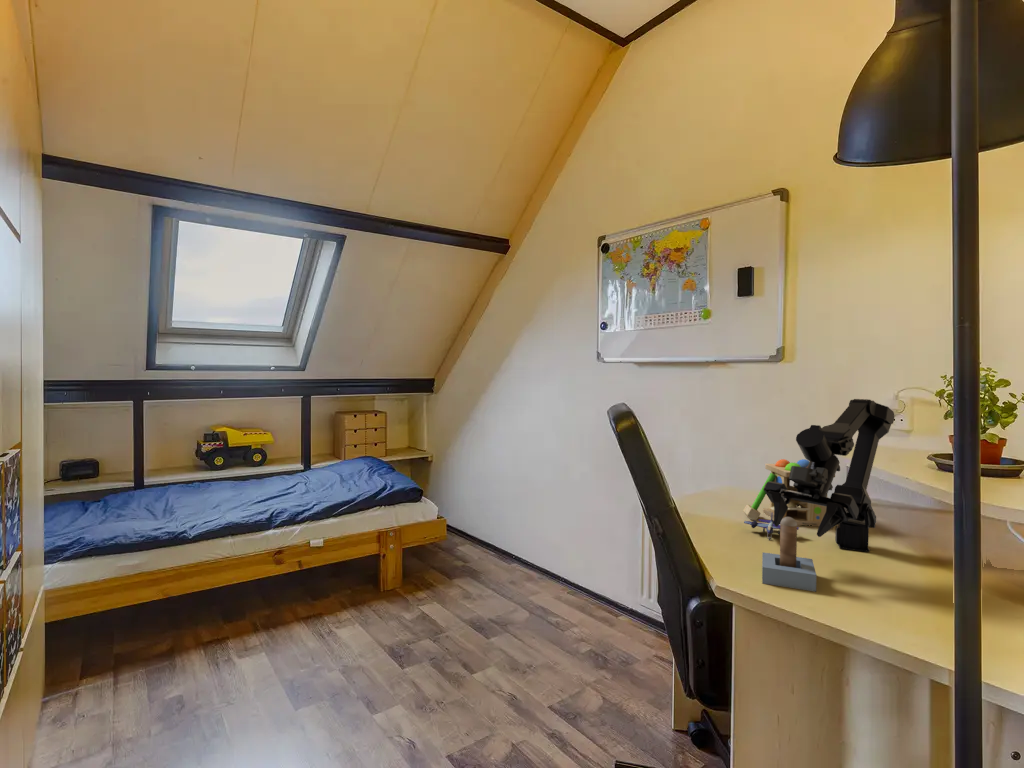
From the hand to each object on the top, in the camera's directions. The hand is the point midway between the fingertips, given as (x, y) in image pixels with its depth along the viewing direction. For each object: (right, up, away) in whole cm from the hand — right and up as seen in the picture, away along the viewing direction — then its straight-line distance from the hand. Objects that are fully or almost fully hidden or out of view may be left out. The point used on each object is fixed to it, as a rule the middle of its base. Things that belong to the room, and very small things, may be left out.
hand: (796, 530), depth 118 cm
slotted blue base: (-3, -10, -2) cm, 11 cm away
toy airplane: (+8, -9, +27) cm, 30 cm away
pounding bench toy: (+20, -9, +44) cm, 49 cm away
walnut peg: (-3, -10, -2) cm, 11 cm away
